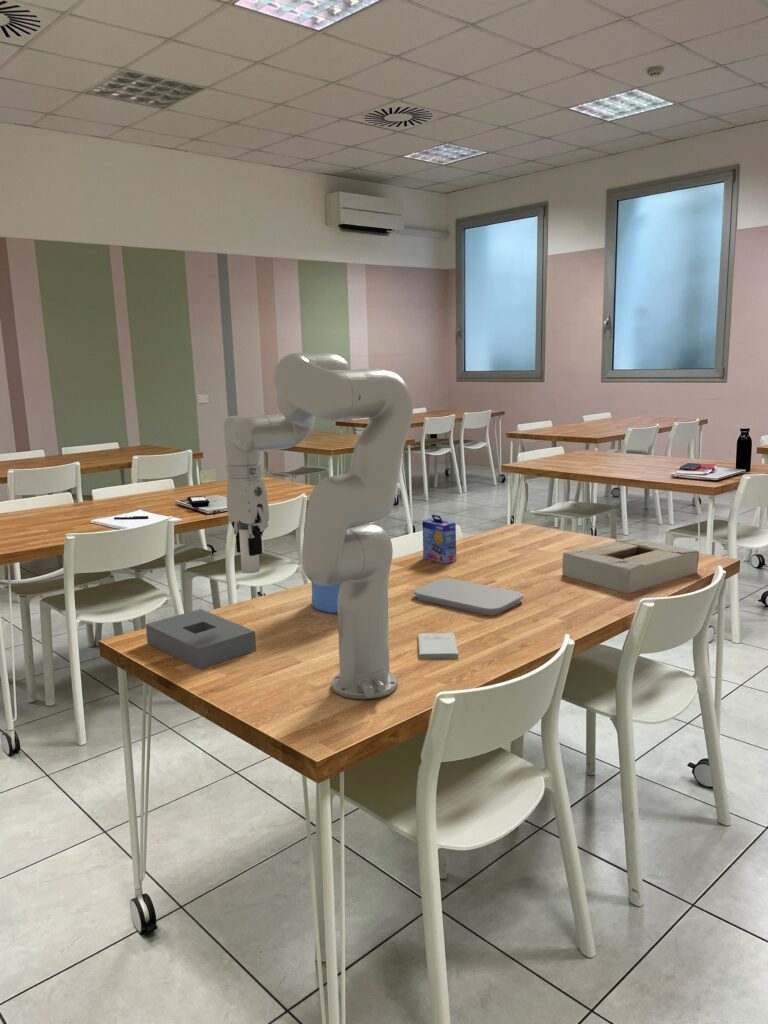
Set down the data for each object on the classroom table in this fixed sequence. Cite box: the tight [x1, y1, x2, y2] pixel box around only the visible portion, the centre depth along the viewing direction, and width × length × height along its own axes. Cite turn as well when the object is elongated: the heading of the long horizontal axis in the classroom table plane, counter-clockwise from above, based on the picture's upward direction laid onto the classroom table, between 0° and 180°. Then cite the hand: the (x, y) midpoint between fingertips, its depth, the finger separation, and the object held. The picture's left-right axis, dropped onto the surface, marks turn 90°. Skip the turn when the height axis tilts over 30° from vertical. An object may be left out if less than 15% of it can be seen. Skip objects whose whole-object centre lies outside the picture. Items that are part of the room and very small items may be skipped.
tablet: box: [413, 577, 524, 616], centre depth 197 cm, size 16×26×2 cm, turn 51°
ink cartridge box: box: [422, 514, 457, 565], centre depth 235 cm, size 10×6×14 cm, turn 42°
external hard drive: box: [417, 632, 459, 659], centre depth 165 cm, size 2×8×12 cm
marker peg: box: [238, 520, 261, 574], centre depth 169 cm, size 4×4×12 cm
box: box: [561, 536, 700, 594], centre depth 216 cm, size 23×8×32 cm
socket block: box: [145, 608, 257, 670], centre depth 167 cm, size 22×14×4 cm, turn 45°
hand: (249, 552), depth 170 cm, fingers closed on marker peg, 4 cm apart
